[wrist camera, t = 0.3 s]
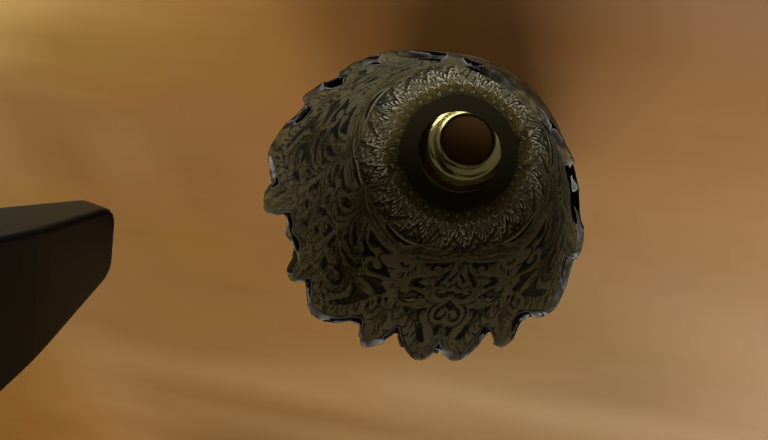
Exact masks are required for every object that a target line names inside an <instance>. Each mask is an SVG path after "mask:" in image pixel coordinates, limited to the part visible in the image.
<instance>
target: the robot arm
mask: <svg viewBox="0 0 768 440" xmlns="http://www.w3.org/2000/svg"><path fill="white" fill-rule="evenodd" d="M113 230H114V217H113V214H112V213H111V211H110V210H109V209H107V208H104V207H102V206H99V205H96V204H94V203H91V202H88V201H84V200H79V201H68V202H58V203H47V204H36V205H26V206H15V207H5V208H0V391H1V390H2V389H3V388H4V387H5V386H6V385H7V384H9V383H10V382H11V381H12V380H13V379H14V378H15V377H16V376H17V375H18V374H19V373H20V372H21V371H22V370H23V369H24V368H25V367H26V366H27V365H28V364H30V363H31V362H32V361H33V360H34V359H35V358H36V356H37V355H38V354H39V353H40V352H41V351H42V350H43V349H44V348H45V347H46V346H47V345H48V343H49V342H50V341H51V340H52V339H53V338H54V337H55V335H56V334H57V333H58V332H59V331H60V330H61V328H62V327H63V326H64V325H65V324H66V323H67V322H68V320H69V319H70V318H71V317H72V316H73V315H74V313H75V312H76V311H77V310H78V309H79V308H80V307H81V305H82V304H83V303H84V302H85V301H86V300H87V298H88V297H89V296H90V295H91V294H92V293H93V292H94V290H95V289H96V288H97V287H98V286H99V285H100V283H101V282H102V281H103V280H104V278H105V277H106V275H107V273H108V271H109V268H110V265H111V257H112V243H113Z"/></svg>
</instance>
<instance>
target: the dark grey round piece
mask: <svg viewBox="0 0 768 440" xmlns="http://www.w3.org/2000/svg"><path fill="white" fill-rule="evenodd" d="M303 101H304V102H305V106H304V107H303V108H302V109H301V110H300V111H299V113H298V114H297V115H296V116H295V117H294V118H292V119H291V120H289V121H288V122H287V123H286V124H285V125H284V127H283V128H282V129H281V131H280V132H279V134H278V135H277V137H276V138H275V140H274V141H273V143H272V145H271V146H270V149H269V152H268V163H269V167H270V176H271V181H272V184H271V185H270V186H269V187H268V188H267V189H266V191H265V194H264V210H265V211H266V212H267V213H268V214H269V215H273V214H275V215H280V214H284V215H285V218H286V221H287V227H286V232H285V233H286V236H287V238H288V239H289V240H290V241H291V242H292V245H293V247H294V251H293V254H292V257H293V258H292V260H291V262H290V264H289V265H288V267H287V275H288V277H289V279H290V280H291V281H293V282H303V281H305V283H306V295H307V302H308V304H307V306H308V309H309V311H310V313H311V314H312V315H313V316H315V317H316V318H318V319H320V320H321V321H325V322H333V323H338V322H344V321H350V322H353V323H356V324H359V329H360V330H359V333H358V336H359V337H360V342H361V345H362V346H363V347H372V346H375V345H380V344H382V343H383V342H384V341H385V339H387V338H388V337H390V336H392V335H393V334H394V333H397V337H398V341H399V344H400V346H401V347H404V348H405V349H406V351H407V352H408V354H409V355H410V356H411V357H412V358H413V359H415V360H423V359H426V358H428V357H429V356H430V355H431V354H432V353H433V352H434V353H438V351H440V352H441V354H442V355H444V356H446V357H447V358H449V359H450V360H452V361H457V360H460V359H462V358H464V357H466V356H467V355H468V354H470V353H471V352H472V351H473V350H474V349H475V348H476V347H477V346H478V345H479V343H480V342H481V341H482V339H483V338H484V336H485V335H486V334H487V333H488V332H491V334H492V337H493V339H494V343H493V344H494V345H496V346H498V347H499V348H502V347H504V346H506V345H507V344H508V343H510V342H511V341H512V340H513V338H514V336H515V333H516V331H517V329H518V326H519V324H520V323H521V321H522V320H525V319H526V318H528V317H537V318H539V317H542V316H544V315H547V314H548V313H550V312H552V311H553V310H554V309H555V308H556V306H557V305H558V303H559V301H560V299H561V297H562V294H563V292H564V290H565V287H566V284H567V281H568V277H569V273H570V269H571V266H572V263H573V260H574V259H577V258H578V256H579V254H580V252H581V250H582V245H583V238H584V227H583V224H582V222H581V218H580V210H579V209H580V206H579V187H578V183H577V178H576V173H575V170H574V166H573V163H575V162H574V159H573V157H572V155H571V152H570V151H569V149H568V147H567V145H566V143H565V141H564V138H563V136H562V134H561V132H560V129H559V127H558V125H557V123H556V121H555V119H554V117H553V116H552V114H551V112H550V111H549V109H548V108H547V106H546V105H545V104H544V102H543V101H542V100H541V98H540V97H539V96H538V95H537V94H536V93H535V92H534V90H533V89H532V88H531V87H530V86H529V85H528V84H526V83H525V82H524V81H523V80H521V79H520V78H519V77H518V76H516V75H515V74H513V73H512V72H510V71H509V70H507V69H506V68H504V67H502V66H500V65H498V64H496V63H493V62H491V61H488V60H486V59H483V58H480V57H476V56H472V55H468V54H463V53H456V52H446V51H387V52H382V53H378V56H370V57H368V58H366V59H363V60H361V61H357V62H354V63H352V64H350V65H349V66H348V67H347V68H346V69H344V70H342V71H340V72H339V73H338V77H337V78H336V79H333V80H330V81H328V82H323V83H321V84H320V85H318V86H317V87H316V88H314V89H313V90H311V91H309V92H308V93H307V94H305V95H304V96H303ZM462 116H472V117H475V118H478V119H480V120H481V121H483V122H484V123H485V124H486V125H487V127H488V128H489V130H490V132H491V135H492V147H491V150H490V152H489V154H488V155H487V156H486V158H485V159H483V160H482V161H480V162H479V163H476V164H472V165H464V164H460V163H457V162H455V161H454V160H452V159H451V158H450V157H449V156H448V154H447V153H446V151H445V149H444V146H443V134H444V131H445V129H446V127H447V126H448V124H449V123H450V122H451V121H453V120H454V119H456V118H459V117H462ZM282 212H283V213H282ZM487 335H488V334H487Z"/></svg>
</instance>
